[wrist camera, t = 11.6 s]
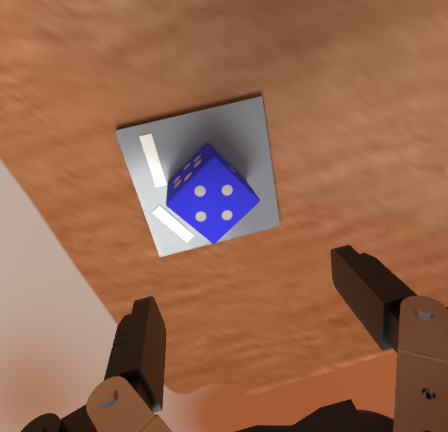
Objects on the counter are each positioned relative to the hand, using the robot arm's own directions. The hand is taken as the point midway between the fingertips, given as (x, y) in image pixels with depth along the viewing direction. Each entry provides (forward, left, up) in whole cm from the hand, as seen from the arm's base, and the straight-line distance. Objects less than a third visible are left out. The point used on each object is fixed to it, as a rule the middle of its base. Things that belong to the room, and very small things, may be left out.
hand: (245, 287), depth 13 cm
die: (0, 0, -15) cm, 15 cm away
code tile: (0, 0, -15) cm, 15 cm away
